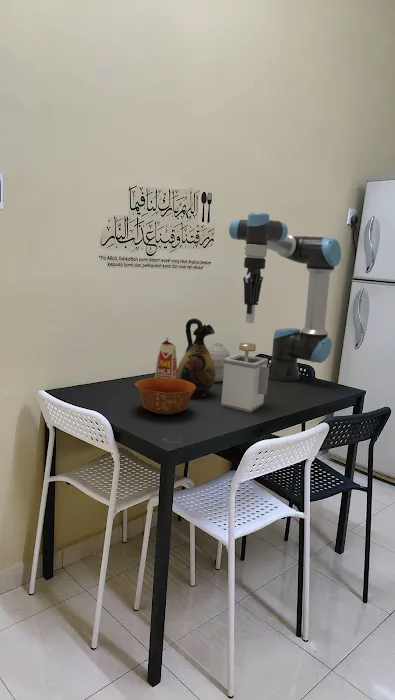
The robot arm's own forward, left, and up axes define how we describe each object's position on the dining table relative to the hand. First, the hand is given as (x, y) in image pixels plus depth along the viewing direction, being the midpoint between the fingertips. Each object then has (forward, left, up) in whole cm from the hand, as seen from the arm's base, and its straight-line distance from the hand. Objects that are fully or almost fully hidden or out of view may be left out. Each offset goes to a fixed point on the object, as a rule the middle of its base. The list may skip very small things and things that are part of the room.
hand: (249, 322), depth 189 cm
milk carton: (-7, -39, -32) cm, 51 cm away
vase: (-26, -25, -32) cm, 48 cm away
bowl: (+25, -19, -32) cm, 45 cm away
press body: (0, +1, -32) cm, 32 cm away
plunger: (0, 0, -30) cm, 30 cm away
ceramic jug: (-1, -22, -32) cm, 39 cm away
